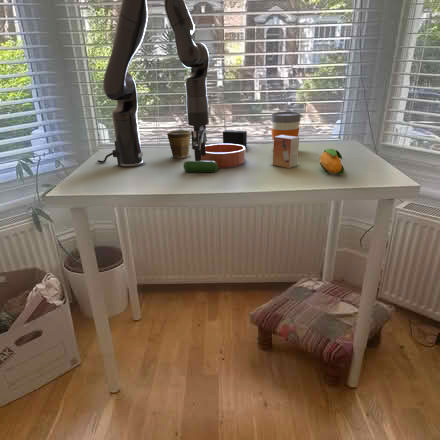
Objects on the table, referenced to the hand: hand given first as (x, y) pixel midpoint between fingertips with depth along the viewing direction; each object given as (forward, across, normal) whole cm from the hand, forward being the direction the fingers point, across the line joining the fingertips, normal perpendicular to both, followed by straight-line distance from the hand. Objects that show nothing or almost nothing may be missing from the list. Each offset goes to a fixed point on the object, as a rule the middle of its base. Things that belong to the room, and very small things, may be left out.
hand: (200, 158), depth 147 cm
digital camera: (+5, -46, +7) cm, 47 cm away
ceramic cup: (+5, -26, -15) cm, 31 cm away
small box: (+6, -11, +31) cm, 33 cm away
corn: (+6, -1, +48) cm, 48 cm away
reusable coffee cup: (+5, -38, +30) cm, 49 cm away
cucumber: (+5, 0, 0) cm, 5 cm away
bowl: (+5, -15, +6) cm, 17 cm away
